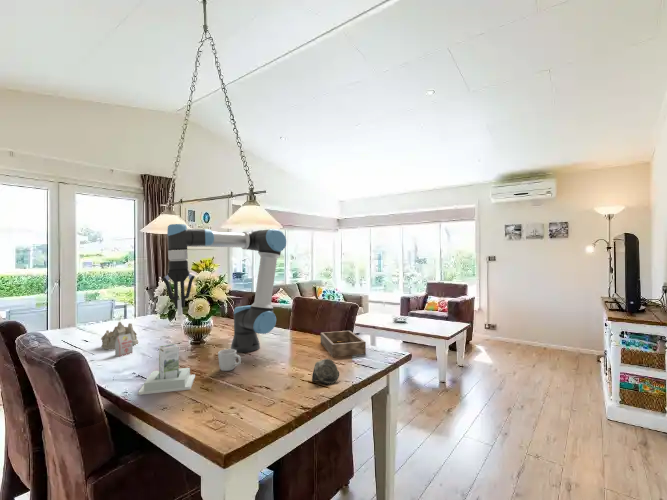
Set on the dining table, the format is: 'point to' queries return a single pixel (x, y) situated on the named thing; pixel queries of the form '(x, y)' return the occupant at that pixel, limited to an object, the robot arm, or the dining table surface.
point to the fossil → (325, 372)
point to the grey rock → (111, 337)
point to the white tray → (167, 383)
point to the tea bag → (123, 345)
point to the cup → (228, 359)
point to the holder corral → (343, 349)
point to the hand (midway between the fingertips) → (180, 315)
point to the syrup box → (168, 361)
